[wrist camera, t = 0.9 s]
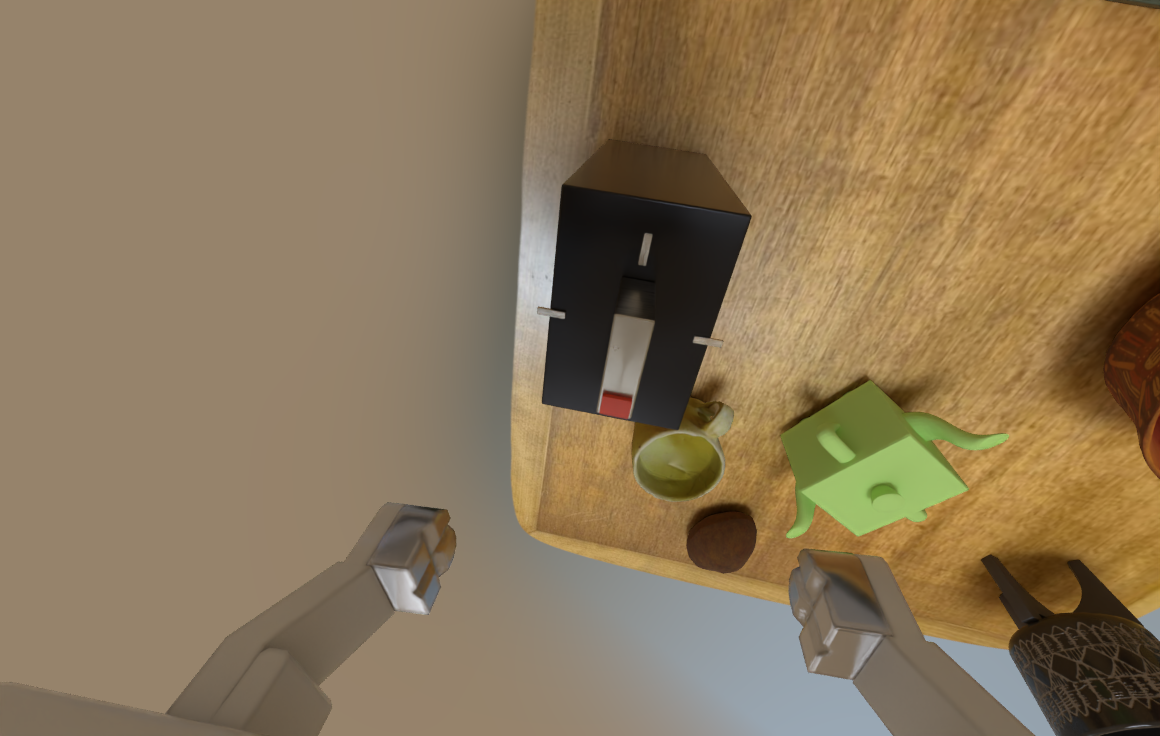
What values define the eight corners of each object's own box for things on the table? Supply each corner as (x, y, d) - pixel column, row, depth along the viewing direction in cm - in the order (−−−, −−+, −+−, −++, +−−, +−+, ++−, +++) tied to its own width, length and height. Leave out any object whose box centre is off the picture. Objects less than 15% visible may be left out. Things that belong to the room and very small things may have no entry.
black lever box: (600, 137, 34) (546, 182, 18) (714, 155, 34) (768, 219, 17) (582, 276, 41) (530, 404, 24) (676, 293, 41) (689, 435, 24)
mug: (671, 484, 52) (669, 530, 42) (617, 421, 52) (603, 453, 42) (757, 427, 48) (775, 463, 39) (698, 358, 48) (702, 378, 39)
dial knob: (621, 276, 20) (613, 316, 16) (656, 282, 19) (655, 324, 16) (605, 365, 22) (595, 416, 19) (635, 370, 22) (630, 423, 19)
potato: (670, 527, 59) (671, 574, 53) (723, 489, 54) (731, 538, 48) (708, 549, 61) (714, 598, 55) (764, 515, 55) (777, 565, 49)
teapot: (943, 368, 40) (1022, 445, 32) (912, 467, 47) (970, 554, 39) (772, 378, 44) (800, 451, 35) (766, 470, 51) (788, 550, 42)
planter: (1059, 605, 56) (1202, 789, 41) (946, 597, 58) (1043, 767, 44) (1112, 544, 49) (1306, 738, 34) (981, 538, 51) (1110, 716, 37)
